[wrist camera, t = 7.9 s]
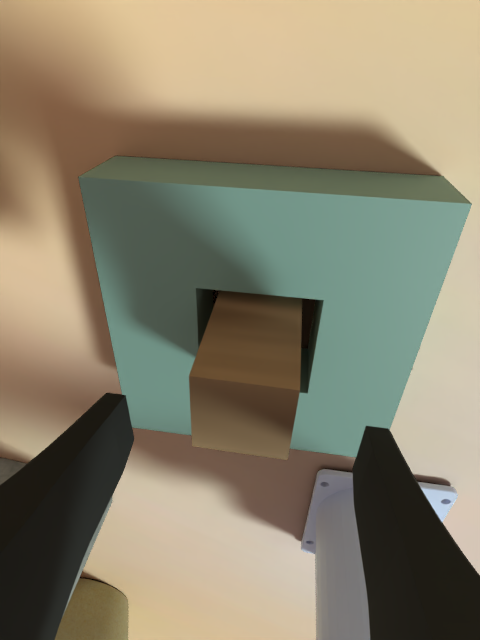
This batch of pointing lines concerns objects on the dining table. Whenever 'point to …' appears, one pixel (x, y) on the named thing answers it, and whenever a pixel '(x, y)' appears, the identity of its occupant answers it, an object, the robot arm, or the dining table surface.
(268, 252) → the socket block
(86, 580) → the plant pot
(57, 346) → the dining table surface
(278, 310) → the peg
